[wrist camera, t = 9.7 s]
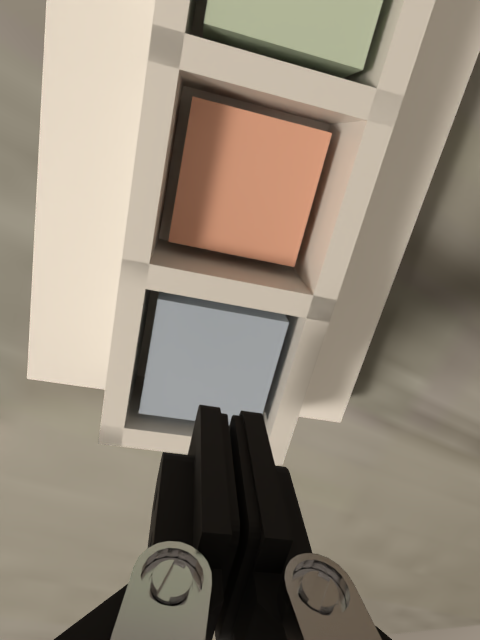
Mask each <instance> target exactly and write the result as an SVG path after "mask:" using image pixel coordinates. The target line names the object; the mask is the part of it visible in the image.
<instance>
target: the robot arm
mask: <svg viewBox="0 0 480 640" xmlns="http://www.w3.org/2000/svg"><path fill="white" fill-rule="evenodd" d="M214 631H215V637H216V640H392V639H391V638H389V637H388V636H387V635H386V634H385V633H383V632H382V631H381V630H380V629H379V628H377V627H376V626H375V625H374V623H373V621H372V619H371V617H370V615H369V613H368V611H367V609H366V607H365V605H364V603H363V601H362V599H361V597H360V595H359V593H358V591H357V589H356V587H355V585H354V583H353V581H352V580H351V578H350V577H349V575H348V574H347V573H346V572H345V571H344V570H343V569H342V568H341V567H340V566H339V565H338V564H337V563H335V562H334V561H332V560H331V559H329V558H327V557H325V556H322V555H319V554H314V553H312V550H311V547H310V543H309V540H308V536H307V533H306V529H305V526H304V522H303V518H302V515H301V511H300V508H299V504H298V501H297V497H296V494H295V490H294V487H293V483H292V480H291V476H290V473H289V470H288V469H287V468H286V467H282V466H275V463H274V459H273V455H272V450H271V446H270V442H269V438H268V434H267V430H266V426H265V422H264V418H263V415H262V413H256V412H249V411H241V412H240V414H239V416H238V415H233V416H232V418H231V421H230V425H229V422H228V415H227V414H224V413H221V409H220V407H214V406H207V405H199V407H198V411H197V415H196V420H195V424H194V429H193V433H192V437H191V442H190V446H189V451H188V455H182V454H174V453H166V452H163V454H162V458H161V463H160V468H159V473H158V478H157V483H156V489H155V495H154V502H153V509H152V517H151V525H150V533H149V541H148V548H147V549H146V550H145V551H144V552H143V553H142V554H141V555H140V556H139V557H138V559H137V561H136V563H135V565H134V567H133V570H132V573H131V577H130V580H129V583H128V584H127V585H126V586H124V587H123V588H122V589H120V590H119V591H118V592H116V593H115V594H114V595H112V596H111V597H110V598H108V599H107V600H106V601H104V602H103V603H102V604H100V605H99V606H98V607H96V608H95V609H94V610H92V611H91V612H90V613H88V614H87V615H86V616H84V617H83V618H82V619H80V620H79V621H78V622H76V623H75V624H74V625H72V626H71V627H70V628H68V629H67V630H66V631H65V632H63V633H62V634H61V635H59V636H58V637H57V638H55V639H54V640H212V638H213V634H214Z"/></svg>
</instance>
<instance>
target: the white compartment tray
mask: <svg viewBox="0 0 480 640" xmlns="http://www.w3.org/2000/svg"><path fill="white" fill-rule="evenodd" d="M206 6H207V0H47V1H46V21H45V40H44V59H43V79H42V98H41V118H40V137H39V156H38V176H37V195H36V215H35V234H34V253H33V273H32V292H31V312H30V331H29V350H28V370H27V379H33V380H40V381H47V382H54V383H62V384H69V385H76V386H83V387H90V388H97V389H105V394H104V402H103V409H102V417H101V425H100V433H99V440H98V444H104V445H113V446H121V447H130V448H138V449H147V450H155V451H164V452H172V453H180V454H188V451H189V446H190V442H191V437H192V433H193V429H194V424H195V421H192V420H185V419H177V418H170V417H162V416H154V415H147V414H139V408H140V402H141V396H142V390H143V384H144V378H145V372H146V366H147V360H148V354H149V348H150V342H151V336H152V330H153V324H154V318H155V312H156V306H157V300H158V296H159V292H165V293H170V294H176V295H181V296H187V297H192V298H198V299H203V300H209V301H214V302H220V303H225V304H231V305H236V306H242V307H247V308H253V309H258V310H264V311H269V312H275V313H280V314H285V315H286V317H287V319H288V321H289V325H288V328H287V331H286V335H285V338H284V342H283V345H282V349H281V352H280V355H279V359H278V362H277V366H276V369H275V373H274V376H273V379H272V383H271V386H270V390H269V393H268V396H267V400H266V403H265V407H264V410H263V414H262V415H263V418H264V422H265V426H266V430H267V434H268V438H269V442H270V446H271V450H272V455H273V459H274V463H275V465H283V462H284V459H285V456H286V453H287V450H288V447H289V444H290V441H291V438H292V435H293V432H294V429H295V426H296V422H297V419H298V417H305V418H312V419H319V420H327V421H334V422H341V420H342V417H343V415H344V412H345V409H346V407H347V404H348V401H349V399H350V396H351V393H352V390H353V388H354V385H355V382H356V380H357V377H358V374H359V372H360V369H361V366H362V364H363V361H364V358H365V356H366V353H367V350H368V348H369V345H370V342H371V340H372V337H373V334H374V332H375V329H376V326H377V324H378V321H379V318H380V316H381V313H382V310H383V308H384V305H385V302H386V300H387V297H388V294H389V292H390V289H391V286H392V284H393V281H394V278H395V276H396V273H397V270H398V268H399V265H400V262H401V260H402V257H403V254H404V252H405V249H406V246H407V244H408V241H409V238H410V236H411V233H412V230H413V228H414V225H415V222H416V220H417V217H418V214H419V212H420V209H421V206H422V204H423V201H424V198H425V196H426V193H427V190H428V188H429V185H430V182H431V180H432V177H433V174H434V172H435V169H436V166H437V164H438V161H439V158H440V156H441V153H442V150H443V148H444V145H445V142H446V140H447V137H448V134H449V131H450V129H451V126H452V123H453V121H454V118H455V115H456V113H457V110H458V107H459V105H460V102H461V99H462V97H463V94H464V91H465V89H466V86H467V83H468V81H469V78H470V75H471V73H472V70H473V67H474V65H475V62H476V59H477V57H478V54H479V51H480V0H383V3H382V6H381V10H380V13H379V16H378V20H377V23H376V27H375V30H374V34H373V37H372V40H371V44H370V47H369V51H368V54H367V58H366V61H365V64H364V68H363V70H361V71H359V72H357V73H354V74H352V75H349V76H347V77H345V78H339V77H336V76H332V75H329V74H325V73H322V72H318V71H315V70H311V69H308V68H305V67H301V66H298V65H294V64H291V63H287V62H284V61H280V60H277V59H273V58H270V57H266V56H263V55H259V54H256V53H252V52H249V51H245V50H242V49H238V48H235V47H231V46H228V45H225V44H221V43H218V42H214V41H211V40H207V39H204V38H203V25H204V18H205V12H206ZM192 96H193V97H197V98H201V99H205V100H209V101H212V102H216V103H220V104H224V105H228V106H231V107H235V108H239V109H243V110H247V111H250V112H254V113H258V114H262V115H266V116H269V117H273V118H277V119H281V120H285V121H288V122H292V123H296V124H300V125H304V126H307V127H311V128H315V129H319V130H323V131H326V132H330V133H332V135H331V139H330V143H329V146H328V150H327V153H326V157H325V160H324V164H323V167H322V171H321V174H320V178H319V182H318V185H317V189H316V192H315V196H314V199H313V203H312V206H311V210H310V213H309V217H308V220H307V224H306V228H305V231H304V235H303V238H302V242H301V245H300V249H299V252H298V256H297V259H296V263H295V267H291V266H286V265H281V264H276V263H271V262H266V261H261V260H256V259H251V258H246V257H241V256H236V255H231V254H226V253H221V252H217V251H212V250H207V249H202V248H197V247H192V246H187V245H182V244H177V243H172V242H168V240H169V234H170V228H171V222H172V216H173V210H174V204H175V198H176V192H177V186H178V180H179V174H180V168H181V162H182V156H183V150H184V144H185V138H186V132H187V126H188V120H189V114H190V108H191V102H192Z"/></svg>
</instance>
